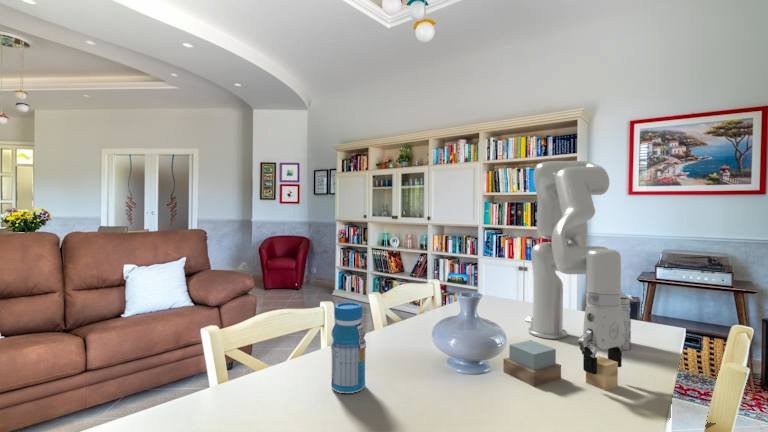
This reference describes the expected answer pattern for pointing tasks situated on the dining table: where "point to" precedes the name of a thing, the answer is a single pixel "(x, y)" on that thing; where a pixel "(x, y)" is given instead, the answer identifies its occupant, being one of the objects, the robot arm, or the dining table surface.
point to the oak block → (604, 374)
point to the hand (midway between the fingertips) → (602, 368)
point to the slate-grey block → (532, 355)
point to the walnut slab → (532, 373)
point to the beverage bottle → (348, 349)
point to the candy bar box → (626, 320)
